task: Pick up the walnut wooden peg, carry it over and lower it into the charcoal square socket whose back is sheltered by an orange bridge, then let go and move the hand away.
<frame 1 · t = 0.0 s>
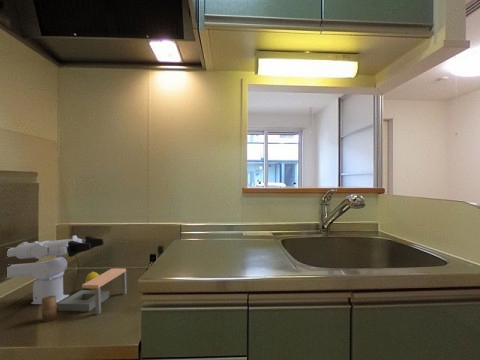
hand: (96, 244, 106), 22 cm above the countertop, tool horizontal, fingers open, 7 cm apart
peg: (49, 319, 93), on the countertop
lemon: (93, 291, 117), on the countertop
orange bridge: (106, 289, 104), on the countertop
socket: (84, 303, 104), on the countertop
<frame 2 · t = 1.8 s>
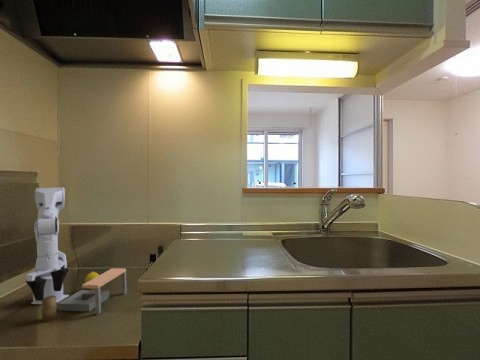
hand: (48, 295, 93), 8 cm above the countertop, tool pointing down, fingers open, 7 cm apart
nothing on the countertop moved.
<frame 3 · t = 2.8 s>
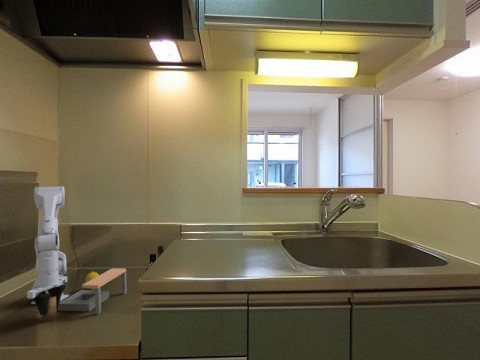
hand: (49, 311, 93), 3 cm above the countertop, tool pointing down, fingers closed on peg, 4 cm apart
peg: (49, 319, 93), on the countertop, touching gripper
everything else where it was.
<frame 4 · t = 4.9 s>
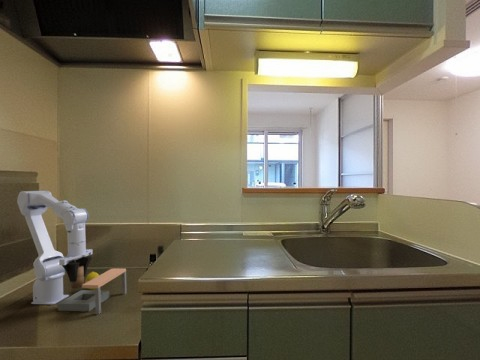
hand: (77, 279, 102), 10 cm above the countertop, tool pointing down, fingers closed on peg, 4 cm apart
peg: (77, 286, 102), point 7 cm above the countertop, touching gripper
everything else where it was.
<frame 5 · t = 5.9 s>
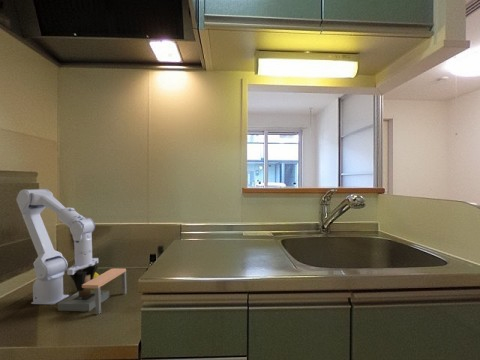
hand: (84, 287, 104), 6 cm above the countertop, tool pointing down, fingers closed on peg, 4 cm apart
peg: (84, 294, 104), point 3 cm above the countertop, touching gripper
everything else where it was.
when the fingers open (3 cm above the countertop, at t = 6.8 s): peg stays where it is, resting in socket.
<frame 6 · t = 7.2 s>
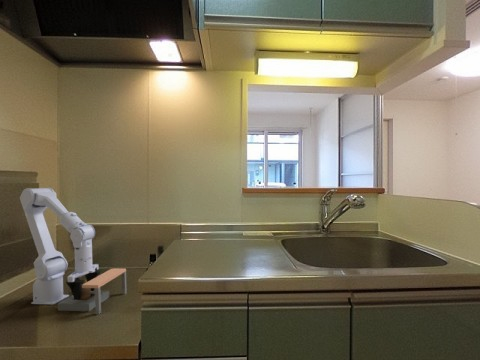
hand: (84, 294, 104), 3 cm above the countertop, tool pointing down, fingers open, 7 cm apart
peg: (84, 303, 104), resting in socket
everything else where it was.
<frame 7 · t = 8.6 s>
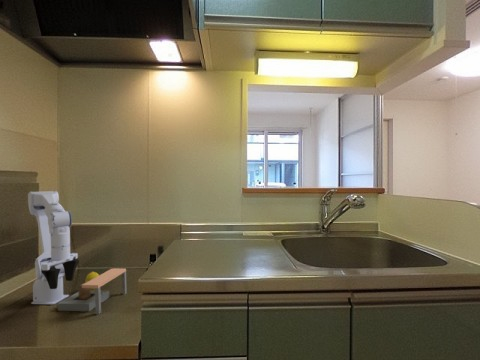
hand: (61, 284, 99), 9 cm above the countertop, tool pointing down, fingers open, 7 cm apart
nothing on the countertop moved.
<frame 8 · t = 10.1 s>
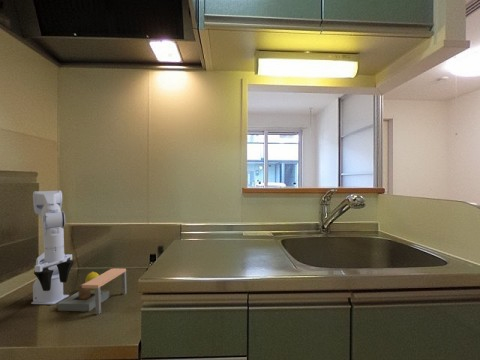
hand: (55, 286, 97), 9 cm above the countertop, tool pointing down, fingers open, 7 cm apart
nothing on the countertop moved.
at the end: peg 0.0 cm off-centre on the socket, point 0.0 cm above the socket's base; peg tilted 0°; the gripper is holding nothing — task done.
